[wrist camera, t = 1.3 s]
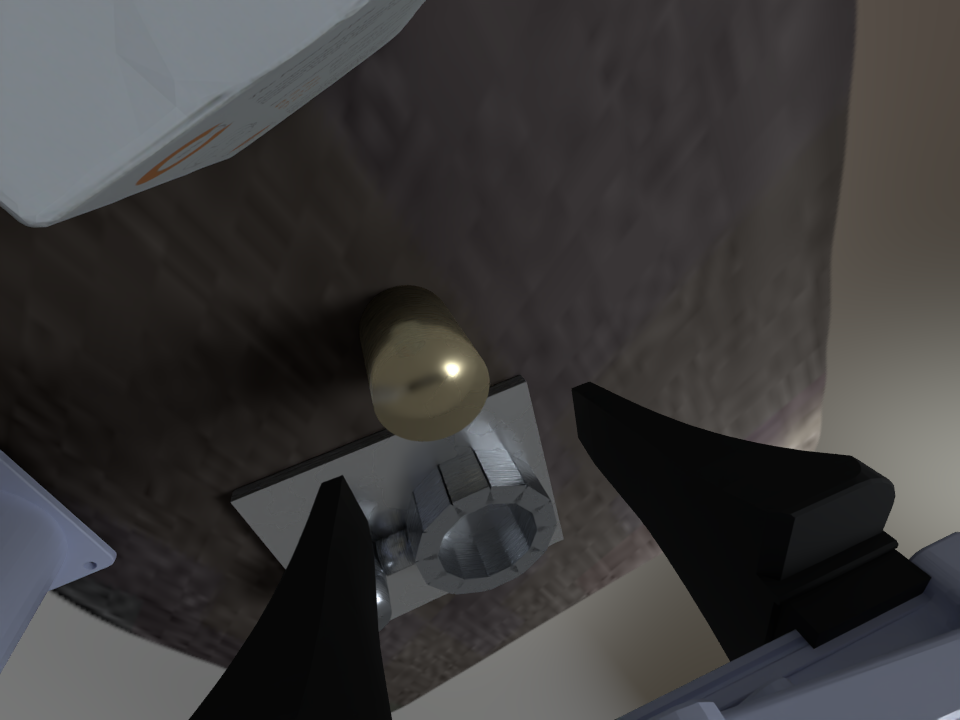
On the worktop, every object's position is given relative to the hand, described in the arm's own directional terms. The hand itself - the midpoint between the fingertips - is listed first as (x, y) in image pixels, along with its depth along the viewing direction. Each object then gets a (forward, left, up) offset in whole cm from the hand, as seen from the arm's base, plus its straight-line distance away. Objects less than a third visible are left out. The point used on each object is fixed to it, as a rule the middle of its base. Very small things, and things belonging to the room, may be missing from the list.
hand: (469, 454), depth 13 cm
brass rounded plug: (0, 0, -10) cm, 10 cm away
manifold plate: (-3, -12, -10) cm, 16 cm away
